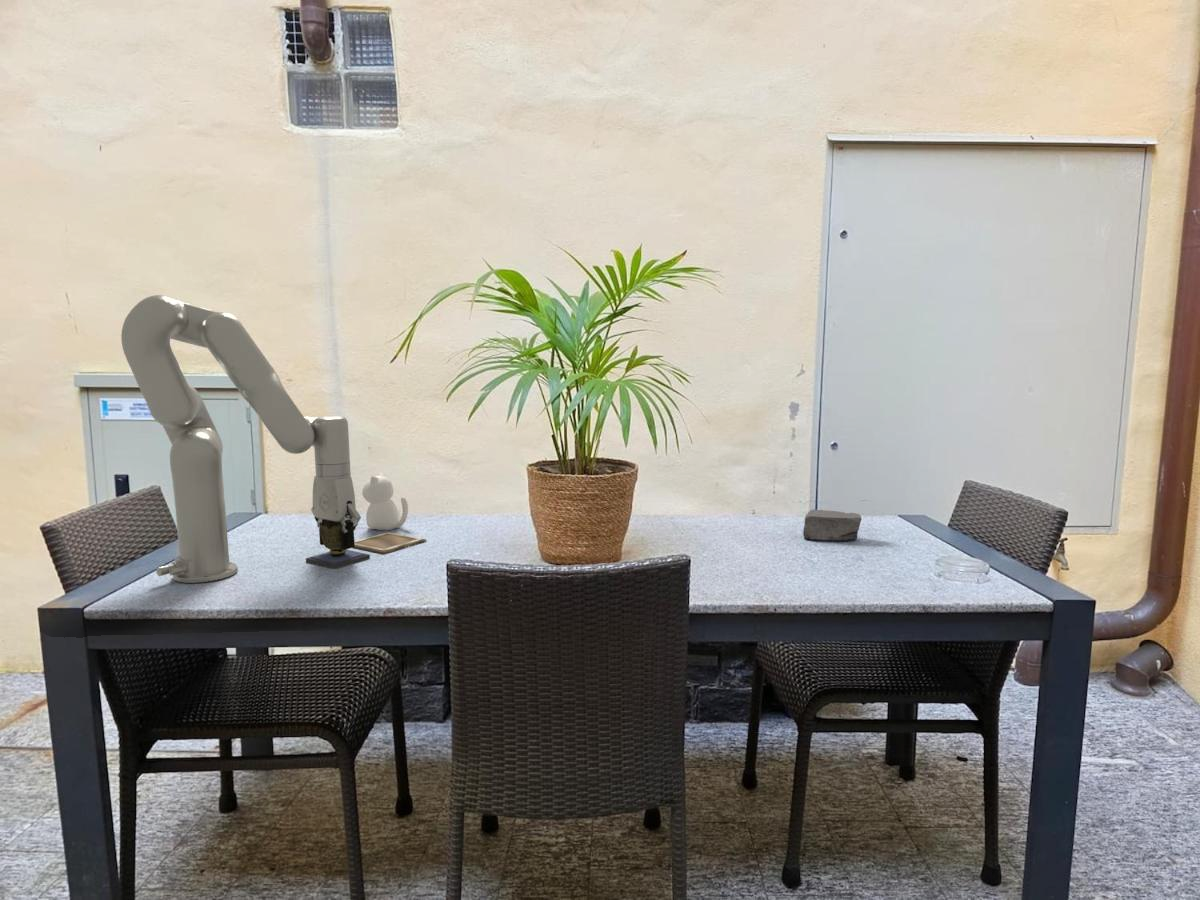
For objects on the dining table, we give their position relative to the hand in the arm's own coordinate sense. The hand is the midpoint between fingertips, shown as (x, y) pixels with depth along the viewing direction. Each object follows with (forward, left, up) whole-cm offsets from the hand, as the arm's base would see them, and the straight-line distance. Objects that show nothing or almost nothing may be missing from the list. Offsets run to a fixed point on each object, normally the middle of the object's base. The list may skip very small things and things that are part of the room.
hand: (337, 545), depth 179 cm
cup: (0, 0, -3) cm, 3 cm away
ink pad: (0, 0, -4) cm, 4 cm away
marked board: (+16, +2, -4) cm, 17 cm away
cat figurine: (+27, +14, -4) cm, 31 cm away
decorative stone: (+81, -90, -4) cm, 121 cm away
